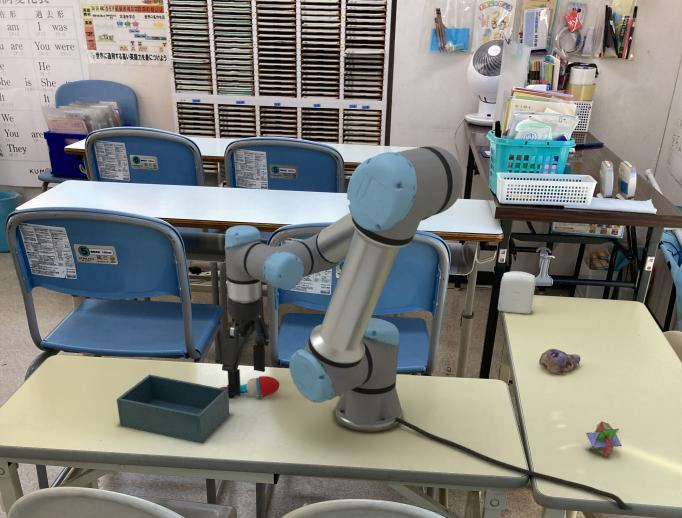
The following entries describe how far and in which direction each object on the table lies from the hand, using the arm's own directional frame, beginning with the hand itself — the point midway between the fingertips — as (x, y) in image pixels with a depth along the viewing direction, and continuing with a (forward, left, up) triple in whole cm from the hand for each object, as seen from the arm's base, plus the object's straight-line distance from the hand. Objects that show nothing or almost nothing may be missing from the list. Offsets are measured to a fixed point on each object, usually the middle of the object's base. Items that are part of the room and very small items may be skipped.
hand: (247, 382), depth 183 cm
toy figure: (0, 0, -4) cm, 4 cm away
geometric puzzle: (-82, -5, -4) cm, 83 cm away
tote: (+10, +17, -3) cm, 20 cm away
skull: (-69, -45, -4) cm, 83 cm away
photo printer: (-52, -82, -4) cm, 97 cm away
